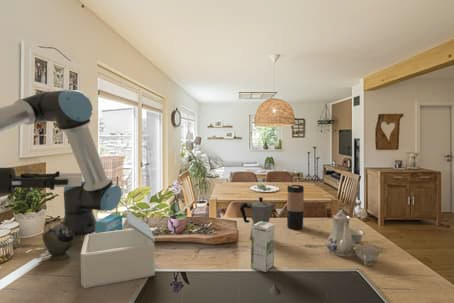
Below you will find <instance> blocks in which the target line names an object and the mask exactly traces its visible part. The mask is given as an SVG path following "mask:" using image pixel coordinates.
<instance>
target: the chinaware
mask: <svg viewBox="0 0 454 303" xmlns="http://www.w3.org/2000/svg"><path fill="white" fill-rule="evenodd" d="M350 220H351V216H350V215H347V214H346V213H345V212H344V211H343V209H340V210H339V211H338V212H337V213H336V214H332V224H333V227H332V231H331V233H330V235H329V236H328V238H327V239H326V242H325V246H326V247H327V249H328V251H329V253H330V254H332V255H336V256H338V257H339V256H340V257H351V256H352V255H353V254H354V252H355V255H356V256H357V258H358V259H359V260H360V262H361V263H362V264H363V265H365V266H367V265H368V266H370V265H373V263H374V262H376V261H377V260H378V259H379V255H380V254H381V252H382V249H381V248H380V247H375V246H374V245H372V244H370V243H364V244H360V242H361V240H362V239H363V236H364V235H366V234H365V232H364V231H362V230H361V229H358V228H355V229H352V228H350Z"/></svg>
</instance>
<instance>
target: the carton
mask: <svg viewBox="0 0 454 303" xmlns="http://www.w3.org/2000/svg"><path fill="white" fill-rule="evenodd" d="M155 246H156V245H155V242H153V241H152V240H150V239H149V238H147V237H146V236H144V235H143V234H141V233H140V232H138V231H137V230H135V229H134V228H129V229H127V228H126V229H122V230H119V231H110V232H102V233H95V232H94V233H86V234H84V239H83V243H82V247H81V250H80V279H81V280H80V283H81V287H83V289H89V288H94V287H99V286H106V285H110V284H116V283H117V284H118V283H120V282H128V281H133V280H137V279H142V278H149V277H154V276H156V264H155V262H156V259H155ZM148 276H149V277H148Z"/></svg>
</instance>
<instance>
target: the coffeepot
mask: <svg viewBox="0 0 454 303" xmlns="http://www.w3.org/2000/svg"><path fill="white" fill-rule="evenodd" d="M258 200H259V201H255V202H249V203H247V202H244V203H242V204H241V205H240V207H239V209H240V210H239V211H240V212H241V216H242V219H243V222H244V223H246V224H248V223H250V220H249V219H247V215H246V211H245V208H246V209H250V215H251V220H252V225H254V224H256V223H258V222H268V223H270V219H271V214H272V212H273V210H274V209H275V208H276V207H277V205H276V204H275V203H270V202H265V201H263V200H264V197H258ZM252 225H251V226H252ZM249 240H250V242H251V241H252V228H251V230H250V236H249Z"/></svg>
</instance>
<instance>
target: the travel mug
mask: <svg viewBox="0 0 454 303" xmlns="http://www.w3.org/2000/svg"><path fill="white" fill-rule="evenodd" d="M304 187H305V186H304V185H301V184H292V185H287V188H286V189H287V192H286V195H287V196H286V203H287V204H286V208H287V209H286V220H287V222H286V223H287V224H286V226H287V229H288V230H293V231H301V230H302V229H303V228H304V209H305V207H304V206H305V204H304V201H305V200H304V199H305V197H304V196H305V195H304V194H305V193H304V190H305V189H304Z"/></svg>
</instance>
